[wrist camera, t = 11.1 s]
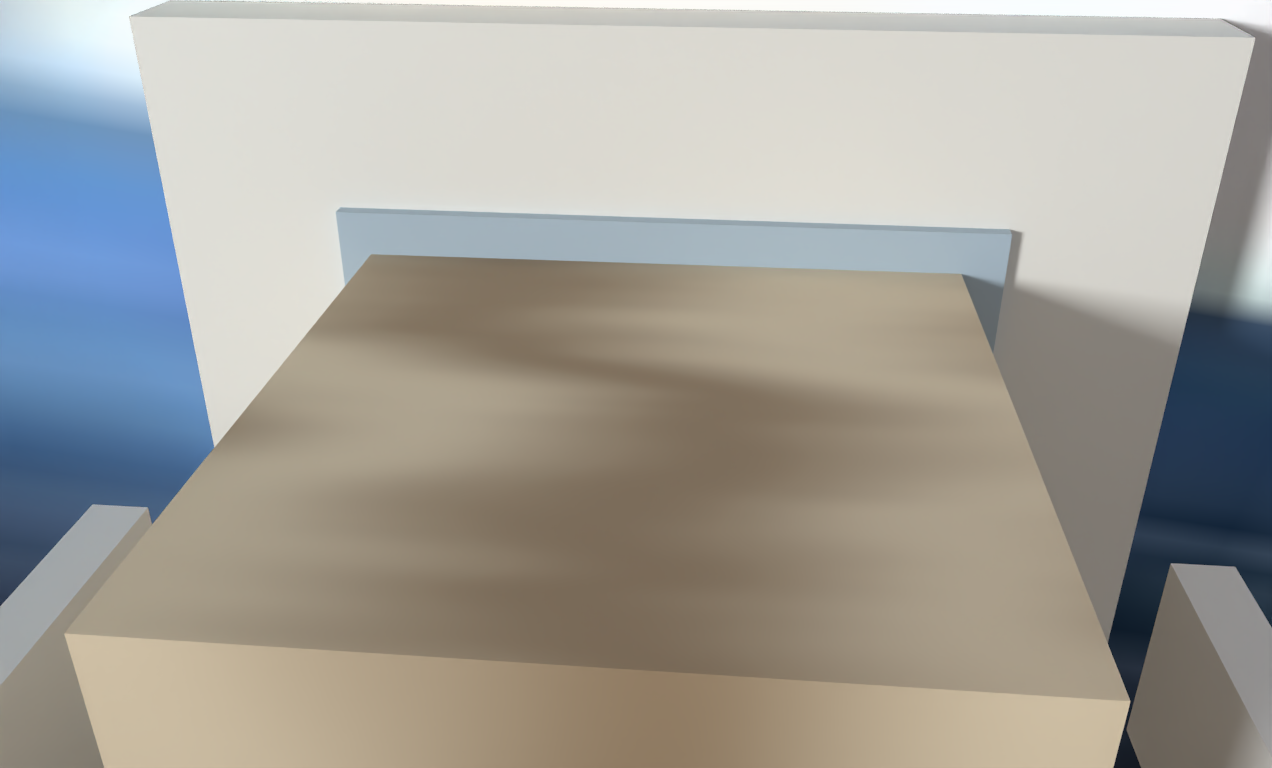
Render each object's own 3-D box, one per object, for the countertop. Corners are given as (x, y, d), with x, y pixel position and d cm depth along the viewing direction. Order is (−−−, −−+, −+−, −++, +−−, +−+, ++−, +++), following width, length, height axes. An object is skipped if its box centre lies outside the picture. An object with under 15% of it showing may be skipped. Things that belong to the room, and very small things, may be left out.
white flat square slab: (305, 746, 23) (279, 802, 21) (171, 0, 16) (121, 19, 15) (1041, 800, 21) (1058, 862, 20) (1220, 19, 15) (1262, 41, 14)
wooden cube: (422, 693, 20) (233, 1204, 13) (371, 253, 16) (64, 633, 9) (898, 725, 19) (978, 1283, 12) (961, 273, 15) (1131, 701, 8)
